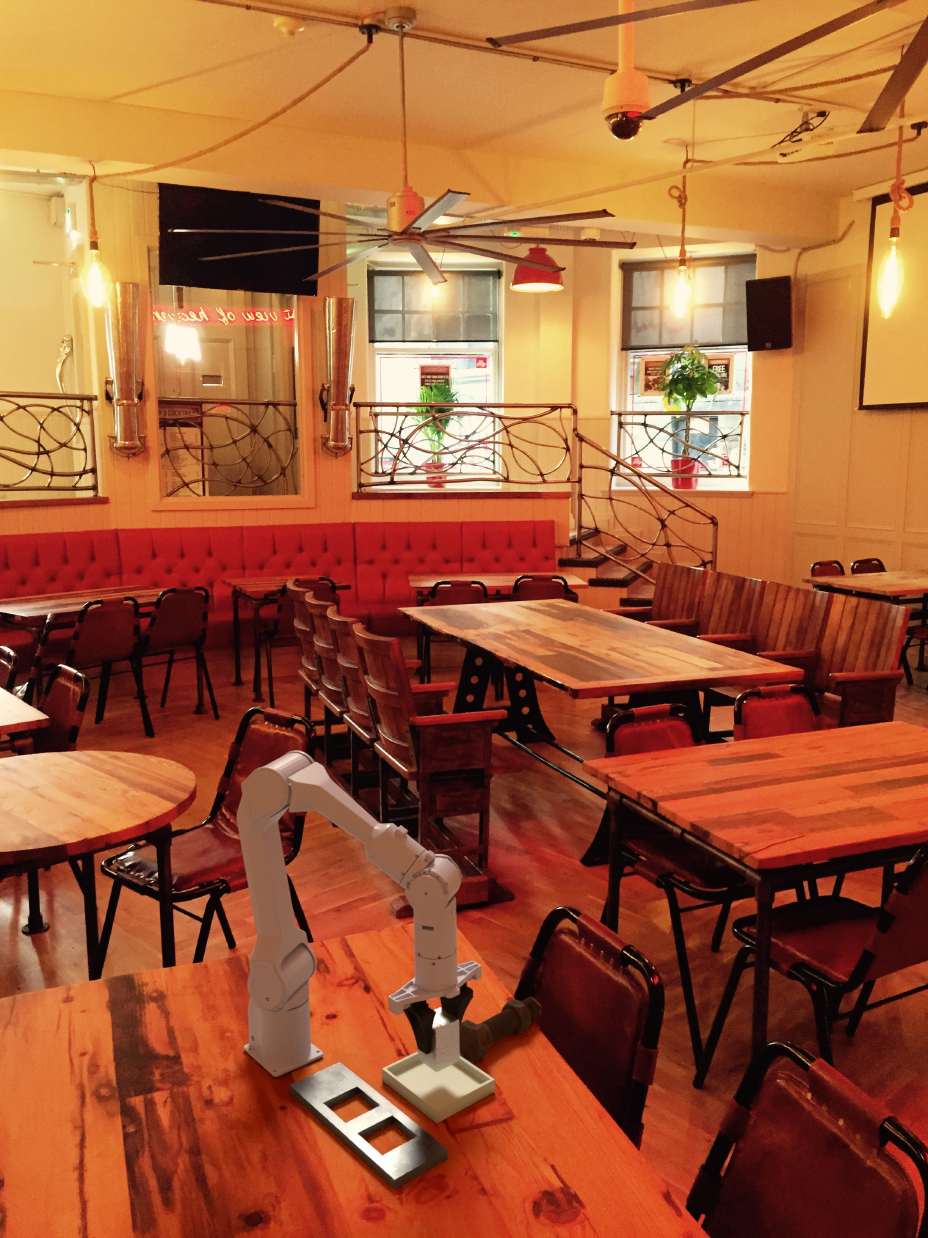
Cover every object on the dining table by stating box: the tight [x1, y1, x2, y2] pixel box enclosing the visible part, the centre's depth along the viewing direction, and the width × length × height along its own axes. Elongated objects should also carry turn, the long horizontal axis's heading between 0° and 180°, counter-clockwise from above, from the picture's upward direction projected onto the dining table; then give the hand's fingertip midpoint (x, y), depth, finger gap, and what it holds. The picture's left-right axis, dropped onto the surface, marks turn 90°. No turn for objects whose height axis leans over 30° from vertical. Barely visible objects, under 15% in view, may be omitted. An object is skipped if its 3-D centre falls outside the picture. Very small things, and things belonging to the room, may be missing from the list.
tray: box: [381, 1051, 496, 1124], centre depth 133 cm, size 12×10×2 cm
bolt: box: [459, 996, 543, 1064], centre depth 144 cm, size 6×5×15 cm
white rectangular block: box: [417, 1007, 461, 1072], centre depth 132 cm, size 4×4×6 cm
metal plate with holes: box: [289, 1061, 449, 1190], centre depth 125 cm, size 24×8×1 cm, turn 40°
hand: (437, 1044), depth 132 cm, fingers closed on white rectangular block, 4 cm apart
